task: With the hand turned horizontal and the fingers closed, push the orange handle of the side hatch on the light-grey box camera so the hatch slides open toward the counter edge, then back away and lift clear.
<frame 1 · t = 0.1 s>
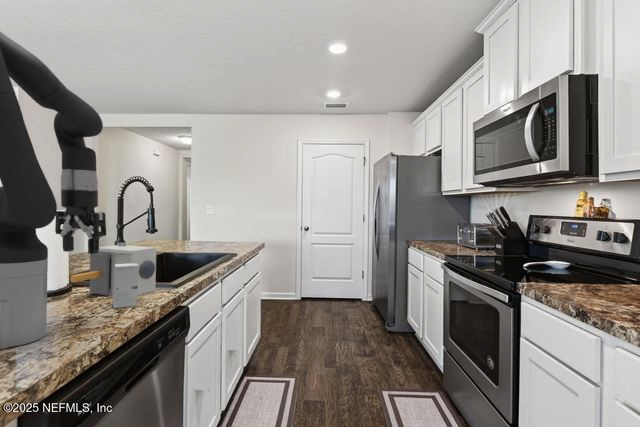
hand: (80, 252, 82), 17 cm above the worktop, tool pointing down, fingers open, 8 cm apart
hatch: (87, 276, 101), point 7 cm above the worktop, slide at 0.0 cm
camera box: (124, 291, 110), on the worktop
skincare box: (125, 305, 95), on the worktop
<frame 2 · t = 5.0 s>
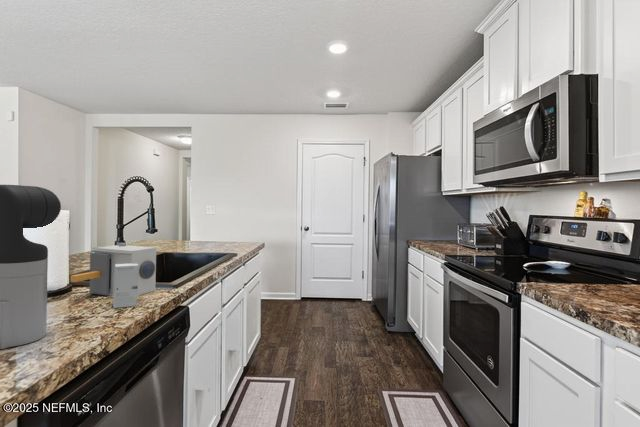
hand: (67, 226, 102), 22 cm above the worktop, tool horizontal, fingers closed
nothing on the worktop moved.
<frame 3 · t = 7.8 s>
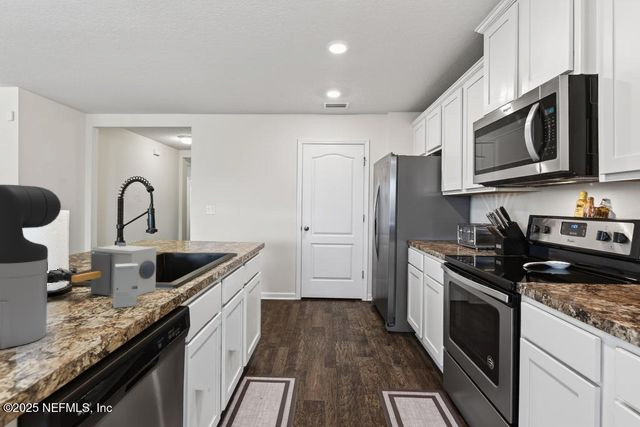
hand: (77, 277, 98), 7 cm above the worktop, tool horizontal, fingers closed
hatch: (88, 276, 101), point 7 cm above the worktop, slide at 0.4 cm, touching gripper
everything else where it was.
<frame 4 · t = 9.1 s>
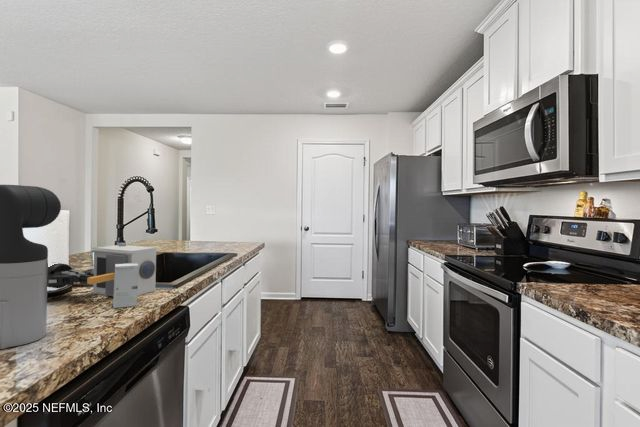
hand: (92, 279, 96), 7 cm above the worktop, tool horizontal, fingers closed
hatch: (103, 278, 99), point 7 cm above the worktop, slide at 6.8 cm, touching gripper
everything else where it was.
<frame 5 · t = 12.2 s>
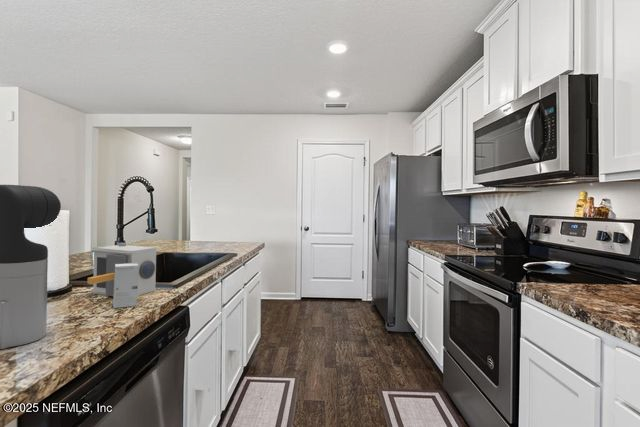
hand: (63, 221, 100), 24 cm above the worktop, tool horizontal, fingers closed
hatch: (104, 278, 99), point 7 cm above the worktop, slide at 6.9 cm
everything else where it was.
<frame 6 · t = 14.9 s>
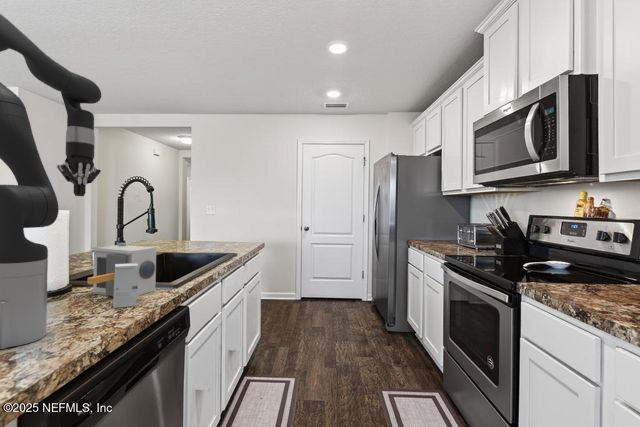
hand: (79, 196, 105), 32 cm above the worktop, tool pointing down, fingers closed
nothing on the worktop moved.
at the end: hatch slide at 6.9 cm; skincare box moved 0.2 cm from its start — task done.
